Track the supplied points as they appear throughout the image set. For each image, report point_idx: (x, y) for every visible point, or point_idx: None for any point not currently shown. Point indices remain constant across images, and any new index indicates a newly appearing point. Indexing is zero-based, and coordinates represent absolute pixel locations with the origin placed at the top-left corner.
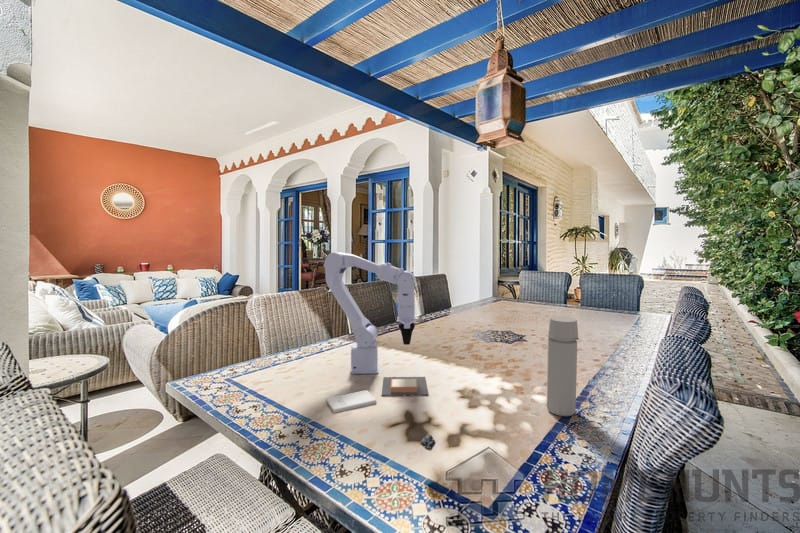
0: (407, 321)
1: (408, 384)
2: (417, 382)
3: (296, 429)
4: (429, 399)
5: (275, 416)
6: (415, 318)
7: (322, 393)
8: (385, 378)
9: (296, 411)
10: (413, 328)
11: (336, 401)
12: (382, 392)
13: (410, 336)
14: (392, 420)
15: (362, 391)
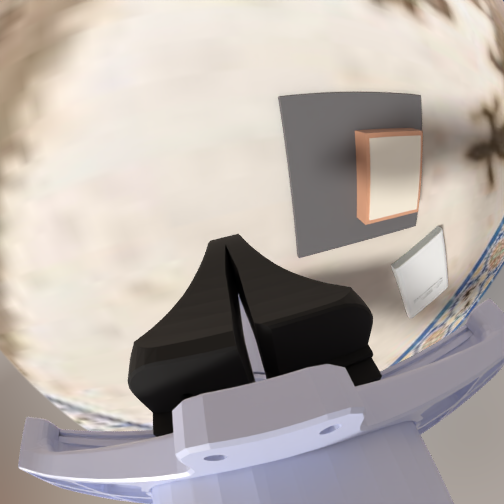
0: (465, 391)
1: (409, 160)
2: (342, 126)
3: (462, 300)
4: (433, 96)
5: (428, 339)
6: (326, 441)
7: (376, 336)
8: (311, 248)
9: (425, 329)
10: (350, 290)
11: (427, 297)
12: (405, 227)
13: (268, 264)
14: (483, 181)
15: (403, 273)
